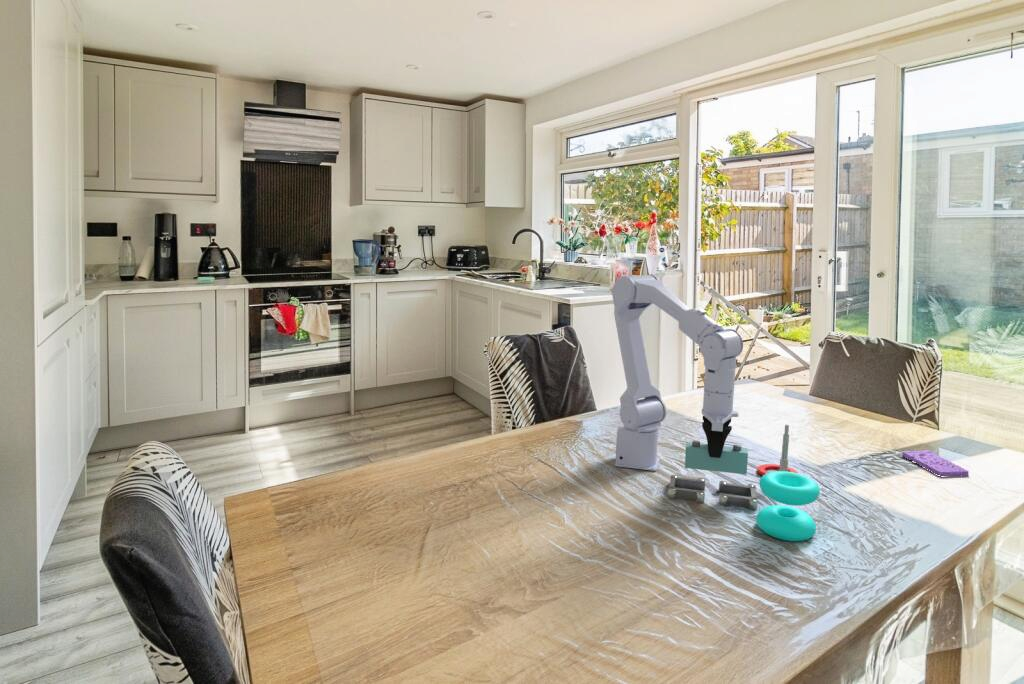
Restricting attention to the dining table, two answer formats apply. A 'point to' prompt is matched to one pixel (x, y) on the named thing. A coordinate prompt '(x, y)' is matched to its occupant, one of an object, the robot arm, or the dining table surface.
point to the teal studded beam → (728, 462)
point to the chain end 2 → (735, 499)
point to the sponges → (935, 463)
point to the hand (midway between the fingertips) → (714, 453)
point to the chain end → (686, 493)
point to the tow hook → (783, 460)
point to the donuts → (786, 518)
